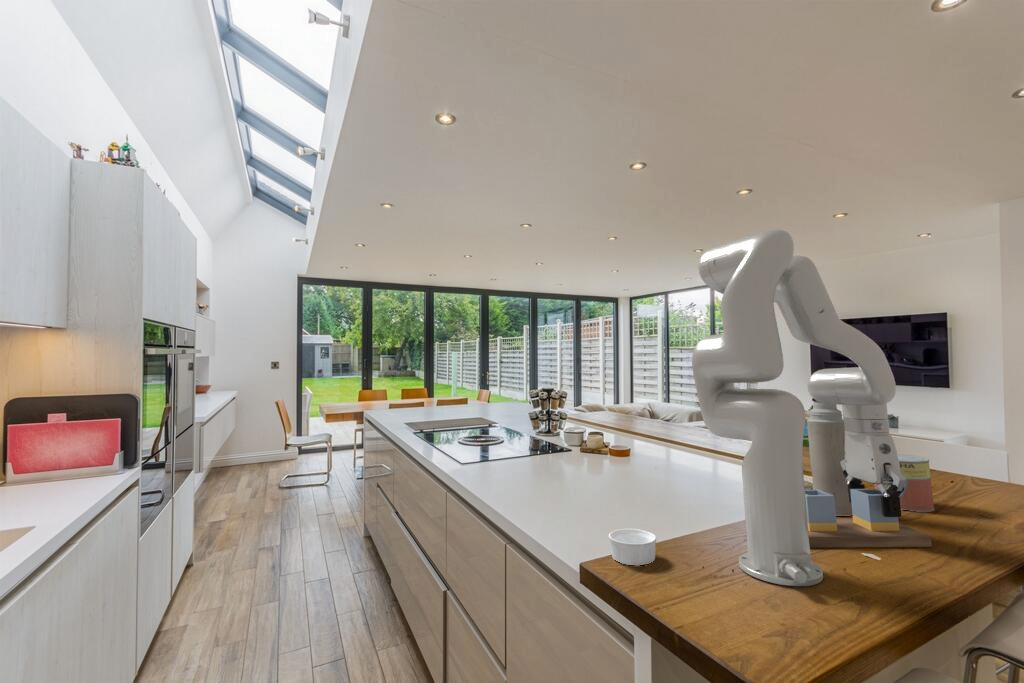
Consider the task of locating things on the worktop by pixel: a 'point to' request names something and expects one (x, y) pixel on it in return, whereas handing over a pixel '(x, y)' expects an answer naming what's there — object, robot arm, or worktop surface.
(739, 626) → the worktop surface
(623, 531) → the ramekin
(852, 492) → the slate sleeve
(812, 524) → the seated sleeve
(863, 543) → the pin board
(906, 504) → the canned food
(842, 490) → the thermos bottle
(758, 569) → the robot arm
